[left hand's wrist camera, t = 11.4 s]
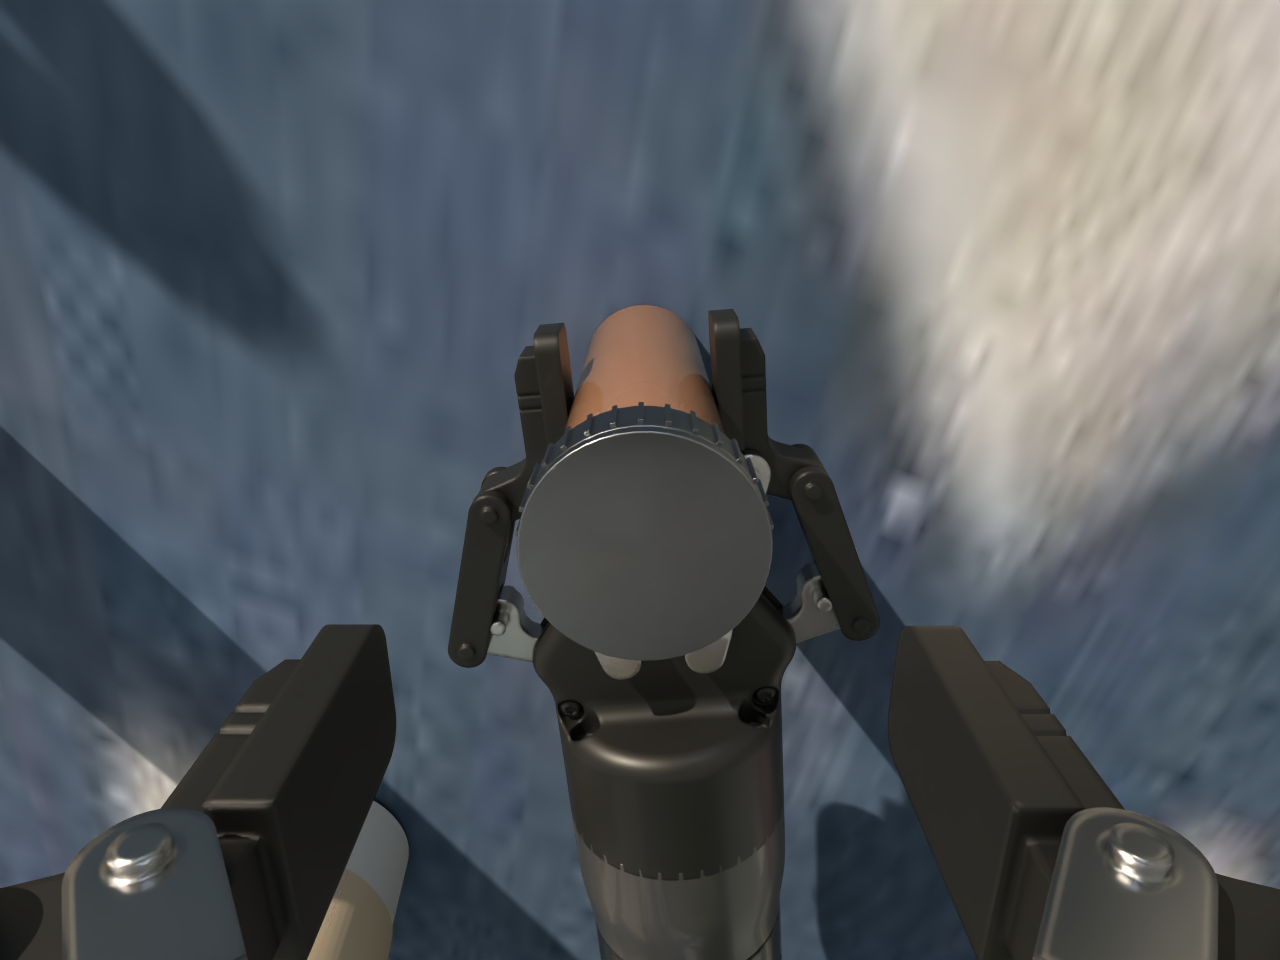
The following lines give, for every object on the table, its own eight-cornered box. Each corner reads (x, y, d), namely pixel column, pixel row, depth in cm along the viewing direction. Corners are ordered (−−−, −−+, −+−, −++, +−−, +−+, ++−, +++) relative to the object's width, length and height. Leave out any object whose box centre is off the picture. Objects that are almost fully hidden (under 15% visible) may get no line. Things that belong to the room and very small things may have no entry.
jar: (650, 438, 31) (656, 670, 17) (563, 368, 30) (494, 553, 16) (724, 355, 30) (796, 531, 16) (637, 280, 29) (631, 397, 15)
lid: (657, 659, 19) (658, 707, 17) (477, 528, 17) (460, 566, 16) (814, 504, 17) (832, 539, 16) (629, 349, 16) (628, 370, 14)
